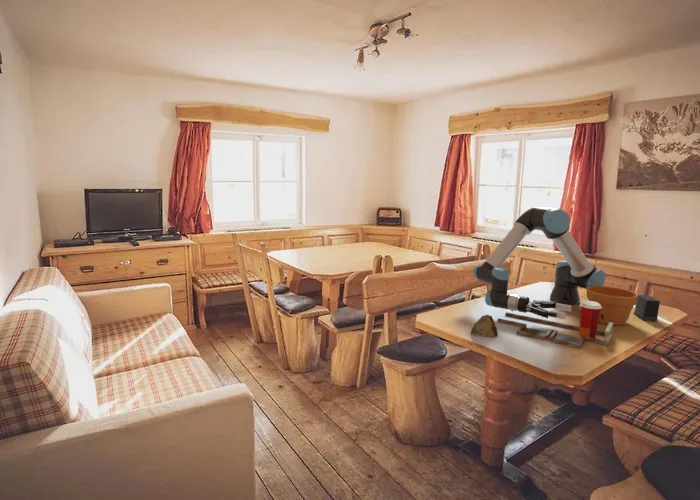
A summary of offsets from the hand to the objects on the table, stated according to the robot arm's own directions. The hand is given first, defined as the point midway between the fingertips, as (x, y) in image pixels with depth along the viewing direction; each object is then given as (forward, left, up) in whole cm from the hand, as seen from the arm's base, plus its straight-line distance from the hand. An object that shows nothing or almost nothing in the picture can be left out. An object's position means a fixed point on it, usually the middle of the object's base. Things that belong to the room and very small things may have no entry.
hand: (568, 312), depth 188 cm
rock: (-11, -37, -9) cm, 40 cm away
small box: (0, +54, -9) cm, 55 cm away
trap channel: (-3, -8, -9) cm, 12 cm away
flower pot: (-4, +33, -9) cm, 34 cm away
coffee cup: (+7, +4, -9) cm, 12 cm away
